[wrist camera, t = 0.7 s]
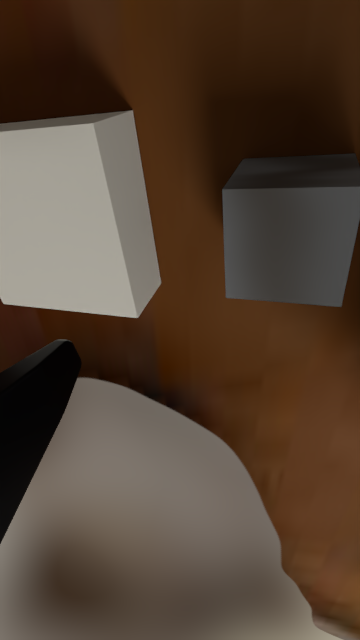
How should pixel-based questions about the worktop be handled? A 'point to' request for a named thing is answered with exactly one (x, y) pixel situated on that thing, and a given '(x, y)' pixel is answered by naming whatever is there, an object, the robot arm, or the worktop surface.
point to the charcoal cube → (291, 228)
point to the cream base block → (75, 216)
